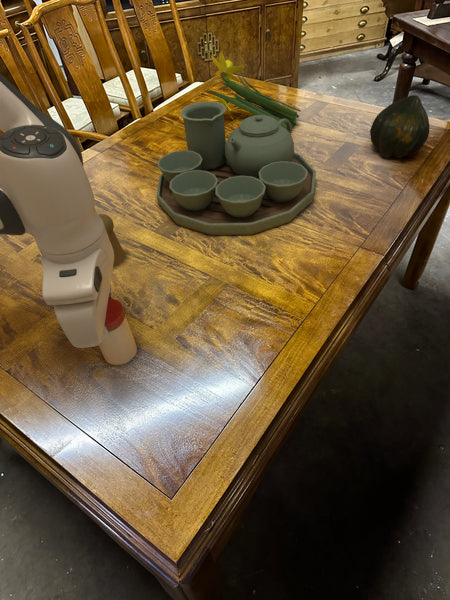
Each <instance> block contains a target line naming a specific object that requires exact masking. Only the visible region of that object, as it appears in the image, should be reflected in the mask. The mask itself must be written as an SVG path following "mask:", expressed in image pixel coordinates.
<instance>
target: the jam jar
mask: <svg viewBox="0 0 450 600" xmlns="http://www.w3.org/2000/svg"><path fill="white" fill-rule="evenodd" d="M133 335H134V334H133V332H132V329H131V327H130V324H129V322H128V319H127V316H126V315H125V318H124V321H123V322H122V323H121V325H119V326H118V327H117V328H115V329H113V330H111V331H109V338H108V339H102V343H101V344H100V345H98V348H99V349H100V352H101V354H102V357H103V358H104V360H105V361H106V362H107V364H110V365H112V366H121V365H125V364H126V363H128V362H130V361H132V359H133V358H134V357H135V356H136V354H137V353H138V345H137V343H136V340H135V337H134V336H133Z"/></svg>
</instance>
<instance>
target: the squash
mask: <svg viewBox="0 0 450 600" xmlns="http://www.w3.org/2000/svg"><path fill="white" fill-rule="evenodd" d="M429 135H430V120H429V116H428V113H427V111H426V109H425V107H424V106H423V103H422V100H421V99H420V97H419V95H418V94H416V95H408V96H405V97H403V98H401V99H398V100H396V101H394V102H393V103H390V104H389V105H388V106H386V107H385V108H383V109H382V110H381V111H380V112H379V113H378V114H377V115H376V117H375V118H374V120H373V122H372V124H371V126H370V129H369V136H370V142H371V143H372V145H373V147H374V148H375V149H377V150H379V153H380V155H381V156H382V157H383V158H392V156H393V157H394V158H395V159H401V158H404V157H405V156H410V155H413V154H416V153H417V152H418V151H419V150H420V149H421V148H422V147H423V146H424V145H425V143H426V142H427V140H428V138H429Z"/></svg>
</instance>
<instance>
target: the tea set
mask: <svg viewBox="0 0 450 600" xmlns="http://www.w3.org/2000/svg"><path fill="white" fill-rule="evenodd" d="M212 101H213V100H211V101H198V102H194V103H190V104H188V105H186V106H184V107H182V109H181V110H180V111H179V114H180V116H181V118H182V122H183V127H184V134H185V141H186V148H187V150H186V149H185V150H176V151H172V152H169V153H167V154H164V155H163V156H161V157H160V158H159V159H158V161H157V167H158V168H159V170H160V172H161V174H160V175H159V176H158V183H157V190H156V191H157V192H156V200H157V203H158V204H159V206H160V207H161V208H162V209H163V210H164V212H165V213H166V214H167V215H168V216H169V217H170V218H171V220H172V221H173V222H174V223H175V224H176V225H178V226H182V227H184V228H188V229H190V230H194V231H197V232H199V233H202V234H206V235H208V236H243V235H244V236H245V235H246V236H247V235H250V236H251V235H254V234H257V233H260V232H264V231H267V230H269V229H274V228H276V227H280V226H283V225H287V224H288V223H290V222H292V220H294V219H295V218H296V217H297V216H298V215H299V214H301V212H302V211H304V210H305V209H306V208H307V207H308V206H309V205H310V204H312V202H313V200H314V195H315V186H316V175H317V170H315V168H313V167H312V165H311V164H310V163H309V162H308V161H307V160H306V158H305V157H303V155H301V154H300V153H297V152H295V142H294V139H293V136H292V132H293V126H291V123H290V121H289V120H287V119H285V118H284V119H281V120H279V121H277V120H276V119H274V118H273V117H271V116H266V115H251V116H248V117H246V118H244V119H243V120H241V122H240V123H239V126H238V127H237V128H235V129H233V130H232V131H231V133H230V134H229V135H228V138H227V137H226V129H225V116H224V115H225V114H224V112H225V111H226V108H225V106H224V105H222V104H221V103H218V102H212ZM283 123H285V124H286V125H287V130H286V129H285V128H284V127H282V124H283ZM226 139H227V140H226Z"/></svg>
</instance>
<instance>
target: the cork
mask: <svg viewBox="0 0 450 600" xmlns="http://www.w3.org/2000/svg"><path fill="white" fill-rule="evenodd" d="M98 215H99V216H100V217H101V219H102V221H103V223H104V226H105V229H106V232H107V235H108V237H109V240H110V242H111V245H112V248H113V251H114V263H113V268H115V267H118V266H119V265H122V264H123V263H124V261H125V260H126V257H127V255H126V252H125V251H124V249H123V247H122V245H121V243H120V241H119V238H118V237H117V235H116V233H115V231H114V228H115V226H114V225H115V223H114V222H113V219H112V218H111V217H110V216H109V215H108V214H106V213H98Z"/></svg>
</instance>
